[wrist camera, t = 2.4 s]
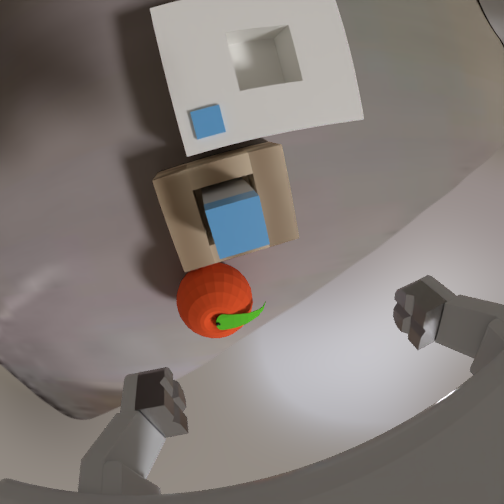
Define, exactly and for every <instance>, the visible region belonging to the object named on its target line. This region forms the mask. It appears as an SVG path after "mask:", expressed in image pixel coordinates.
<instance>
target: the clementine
mask: <svg viewBox="0 0 504 504" xmlns="http://www.w3.org/2000/svg"><path fill="white" fill-rule="evenodd" d="M265 302H266V301H265ZM252 303H253V300H252V293H251V288H250V286H249V284H248V282H247V280H246V279H245V277H244V276H243V275H242V274H241V273H240V272H239V271H238V270H237V269H235V268H233V267H231V266H229V265H227V264H223V263H219V262H218V263H215V264H211V265H208V266H205V267H201V268H198V269H195V270H191V271H190V272H189V273H187V274H186V275H185V277H184V278H183V280H182V281H181V283H180V286H179V289H178V292H177V308H178V311H179V314H180V317H181V318H182V320H183V321H184V323H185V324H186V325H187V326H188V328H190V329H191V330H192V331H193V332H195V333H197V334H199V335H201V336H204V337H209V338H222V337H226V336H229V335H231V334H233V333H234V332H236V331H237V330H239V329H240V328H241V327H242V326H243V325H244V324H246V323H248V322H250V321H251V320H253V319H254V318H256V317H257V316H258V315H259V314H260V313H261V312H262V310H263V309H264V306H265V303H264V305H263V307H261V308H260V309H259V310H256V311H253V312H251V309H252Z"/></svg>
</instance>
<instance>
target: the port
mask: <svg viewBox="0 0 504 504" xmlns="http://www.w3.org/2000/svg"><path fill="white" fill-rule="evenodd" d="M150 12H151V17H152V21H153V26H154V30H155V35H156V39H157V43H158V48H159V52H160V56H161V60H162V64H163V68H164V72H165V76H166V80H167V84H168V88H169V92H170V96H171V100H172V104H173V107H174V111H175V115H176V119H177V123H178V126H179V130H180V134H181V137H182V141H183V144H184V148H185V152H186V155H187V157H189V156H192V155H196V154H199V153H202V152H206V151H209V150H213V149H217V148H220V147H224V146H228V145H232V144H236V143H240V142H244V141H248V140H252V139H256V138H261V137H265V136H270V135H275V134H279V133H284V132H289V131H294V130H300V129H305V128H311V127H316V126H322V125H329V124H335V123H342V122H349V121H357V120H364V116H363V110H362V105H361V99H360V94H359V89H358V84H357V79H356V74H355V70H354V65H353V61H352V57H351V53H350V49H349V45H348V41H347V37H346V34H345V30H344V27H343V23H342V20H341V16H340V13H339V10H338V7H337V4H336V1H335V0H179V1H175V2H171V3H167V4H163V5H160V6H156V7H153V8H150Z"/></svg>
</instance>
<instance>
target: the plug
mask: <svg viewBox="0 0 504 504" xmlns="http://www.w3.org/2000/svg"><path fill="white" fill-rule="evenodd" d="M201 191H202V197H203V203H204V208H205V213H206V216H207V219H208V223H209V226H210V229H211V232H212V236H213V239H214V242H215V245H216V249H217V252H218V255H219V258H220V259H223V258H226V257H229V256H233V255H236V254H239V253H243V252H246V251H249V250H253V249H256V248H259V247H263V246H266V245H269V244H270V242H269V238H268V233H267V229H266V224H265V220H264V215H263V211H262V206H261V202H260V197H259V195H258V194H257V193H256V192H255V191H254V190H253V189H252V188H251V186H250V185H249V184H248V183H247V182H246V181H245V180H244V179H243V178H242V177H238V178H234V179H231V180H227V181H223V182H220V183H216V184H213V185H209V186H206V187H203V188H201Z"/></svg>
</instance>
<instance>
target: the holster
mask: <svg viewBox="0 0 504 504" xmlns="http://www.w3.org/2000/svg"><path fill="white" fill-rule="evenodd" d="M238 177H242V178H243V179H244V180H245V181H246V182H247V183H248V184H249V185H250V186H251V188H252V189H253V190H254V191H255V192H256V193H257V194H258V195H259V197H260V202H261V206H262V211H263V215H264V220H265V224H266V229H267V233H268V238H269V242H270V244H269V245H266V246H263V247H259V248H256V249H253V250H249V251H246V252H243V253H239V254H236V255H233V256H229V257H226V258H223V259H220V258H219V255H218V252H217V249H216V245H215V242H214V239H213V236H212V232H211V229H210V226H209V223H208V219H207V216H206V213H205V208H204V203H203V197H202V191H201V188H203V187H206V186H209V185H213V184H216V183H220V182H223V181H227V180H231V179H234V178H238ZM152 182H153V185H154V188H155V191H156V194H157V197H158V200H159V203H160V206H161V209H162V212H163V215H164V217H165V220H166V223H167V226H168V229H169V232H170V234H171V237H172V240H173V243H174V245H175V248H176V251H177V253H178V256H179V259H180V261H181V264H182V267H183V269H184V272H188V271H191V270H195V269H198V268H201V267H205V266H208V265H211V264H215V263H218V262H221V261H225V260H228V259H231V258H235V257H238V256H241V255H245V254H248V253H251V252H255V251H258V250H261V249H265V248H268V247H271V246H275V245H278V244H281V243H285V242H288V241H291V240H295V239H298V238H299V234H298V228H297V222H296V216H295V211H294V205H293V200H292V194H291V189H290V184H289V178H288V173H287V168H286V163H285V158H284V153H283V148H282V145H281V144H276V143H272V142H264V143H260V144H256V145H251V146H247V147H243V148H239V149H235V150H231V151H228V152H224V153H220V154H217V155H213V156H209V157H206V158H202V159H199V160H196V161H192V162H189V163H186V164H182V165H179V166H176V167H173V168H170V169H167V170H164V171H161V172H158V173H157V175H156V176H155V178H154V179H153V180H152Z"/></svg>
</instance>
